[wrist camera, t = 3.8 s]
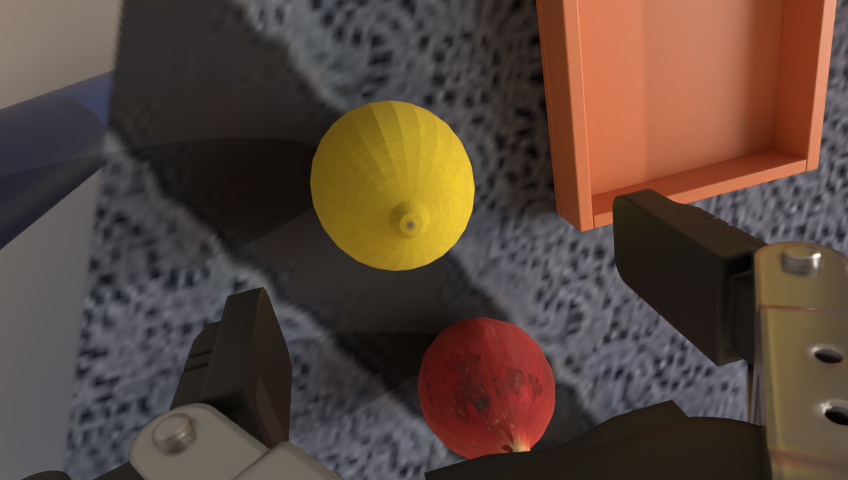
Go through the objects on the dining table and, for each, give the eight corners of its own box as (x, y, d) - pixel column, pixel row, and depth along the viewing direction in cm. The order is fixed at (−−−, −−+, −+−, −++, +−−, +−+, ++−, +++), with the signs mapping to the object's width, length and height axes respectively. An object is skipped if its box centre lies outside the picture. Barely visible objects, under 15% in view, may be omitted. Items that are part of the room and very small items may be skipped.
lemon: (313, 78, 21) (318, 117, 14) (452, 94, 23) (522, 137, 15) (305, 214, 23) (306, 309, 16) (433, 221, 25) (487, 312, 17)
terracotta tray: (556, 212, 26) (580, 232, 23) (529, -59, 21) (556, -66, 19) (774, 154, 27) (818, 168, 25) (795, -115, 22) (851, -128, 20)
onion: (382, 328, 26) (412, 451, 19) (488, 265, 26) (559, 365, 19) (439, 407, 29) (486, 543, 21) (536, 350, 28) (615, 468, 21)
